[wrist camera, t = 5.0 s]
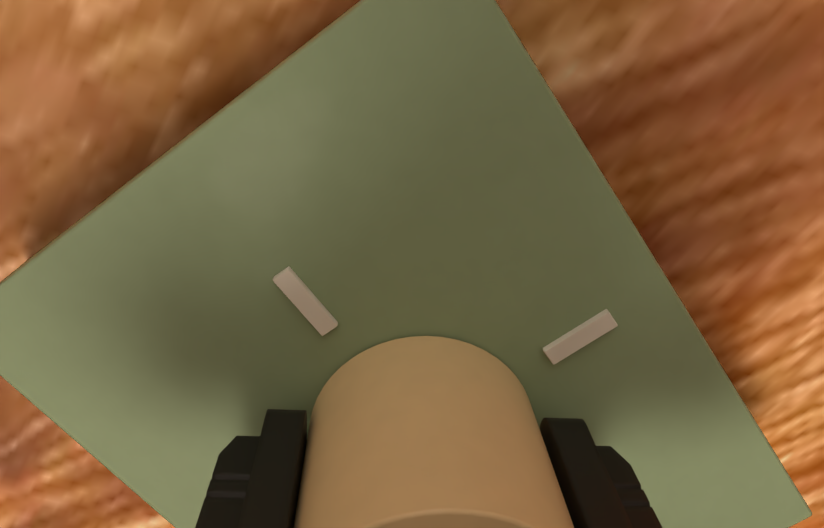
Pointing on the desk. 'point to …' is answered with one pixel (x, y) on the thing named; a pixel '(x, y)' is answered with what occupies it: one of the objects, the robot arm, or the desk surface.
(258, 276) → the panel
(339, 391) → the knob
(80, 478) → the desk surface
